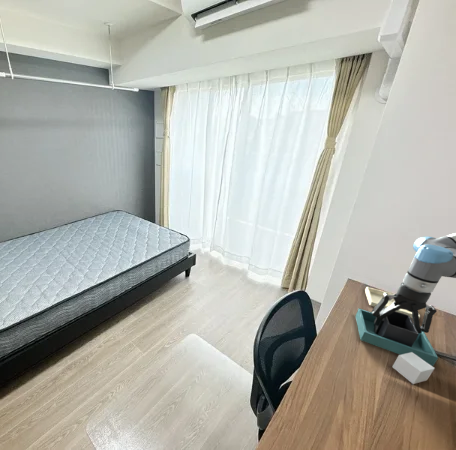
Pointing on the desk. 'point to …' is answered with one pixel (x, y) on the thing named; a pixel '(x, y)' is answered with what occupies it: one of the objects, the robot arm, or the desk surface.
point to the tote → (368, 335)
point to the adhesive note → (413, 367)
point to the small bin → (399, 329)
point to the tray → (377, 295)
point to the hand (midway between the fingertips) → (390, 336)
